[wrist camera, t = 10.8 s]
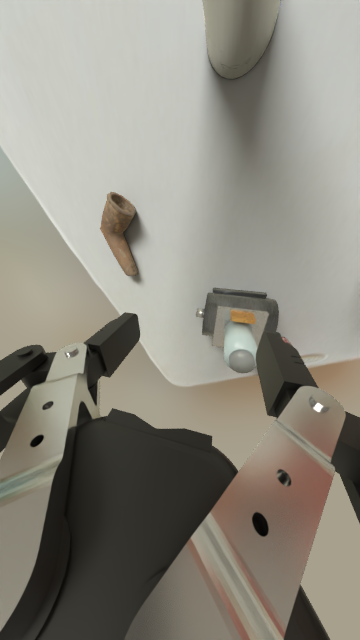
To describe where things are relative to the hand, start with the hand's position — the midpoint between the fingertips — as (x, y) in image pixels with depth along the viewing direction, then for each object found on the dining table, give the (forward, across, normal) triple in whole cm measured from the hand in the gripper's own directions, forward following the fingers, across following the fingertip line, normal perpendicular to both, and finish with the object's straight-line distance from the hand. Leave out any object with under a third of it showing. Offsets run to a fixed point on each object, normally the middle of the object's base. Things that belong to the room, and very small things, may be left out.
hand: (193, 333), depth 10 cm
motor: (+31, -6, +12) cm, 33 cm away
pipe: (+31, +22, -4) cm, 38 cm away
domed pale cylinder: (+20, -6, +12) cm, 24 cm away
